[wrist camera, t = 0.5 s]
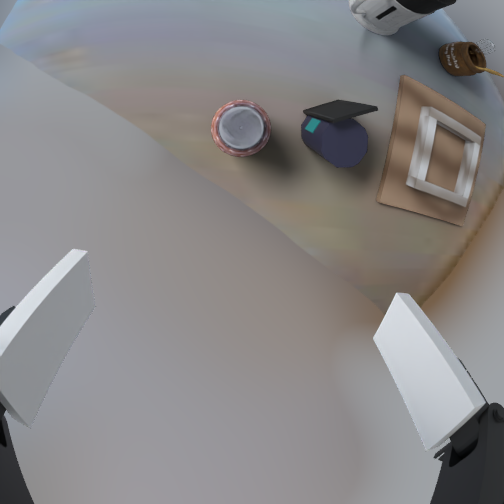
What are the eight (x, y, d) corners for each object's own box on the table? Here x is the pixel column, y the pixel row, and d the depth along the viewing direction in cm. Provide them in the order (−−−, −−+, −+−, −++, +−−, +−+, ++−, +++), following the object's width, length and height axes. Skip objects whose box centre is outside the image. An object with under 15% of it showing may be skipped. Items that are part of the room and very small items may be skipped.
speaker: (297, 96, 30) (326, 96, 22) (339, 99, 31) (378, 102, 22) (297, 152, 34) (324, 171, 26) (337, 152, 35) (373, 172, 26)
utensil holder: (459, 51, 25) (507, 46, 14) (462, 82, 28) (512, 83, 17) (436, 39, 25) (484, 28, 14) (438, 71, 28) (490, 67, 17)
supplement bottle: (247, 159, 34) (250, 173, 24) (208, 136, 32) (193, 139, 22) (272, 122, 32) (287, 119, 22) (233, 98, 30) (230, 84, 20)
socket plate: (400, 75, 29) (413, 73, 25) (481, 123, 31) (495, 126, 27) (375, 200, 37) (387, 207, 34) (458, 224, 39) (470, 231, 36)
